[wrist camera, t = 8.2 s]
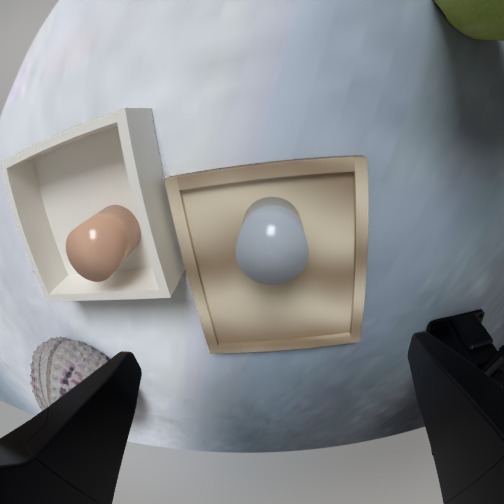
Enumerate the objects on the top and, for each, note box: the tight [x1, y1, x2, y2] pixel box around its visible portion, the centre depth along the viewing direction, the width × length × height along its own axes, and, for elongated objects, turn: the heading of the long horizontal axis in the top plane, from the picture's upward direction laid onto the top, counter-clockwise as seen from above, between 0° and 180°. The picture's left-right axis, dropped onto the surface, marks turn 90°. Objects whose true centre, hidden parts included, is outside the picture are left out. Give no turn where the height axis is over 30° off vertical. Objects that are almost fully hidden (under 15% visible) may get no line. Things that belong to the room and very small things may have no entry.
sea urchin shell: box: [30, 337, 133, 421], centre depth 24 cm, size 13×14×8 cm
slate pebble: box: [236, 197, 309, 285], centre depth 16 cm, size 4×4×4 cm
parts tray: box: [165, 155, 368, 354], centre depth 20 cm, size 14×12×1 cm
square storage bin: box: [1, 108, 185, 301], centre depth 17 cm, size 11×11×4 cm
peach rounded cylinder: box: [66, 205, 141, 282], centre depth 17 cm, size 4×4×4 cm
